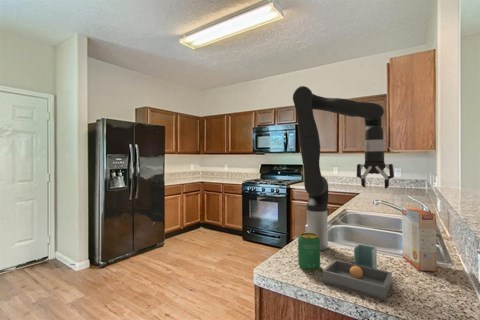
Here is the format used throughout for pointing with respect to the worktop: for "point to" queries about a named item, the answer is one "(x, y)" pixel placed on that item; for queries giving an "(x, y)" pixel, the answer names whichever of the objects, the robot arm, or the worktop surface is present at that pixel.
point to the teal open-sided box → (365, 256)
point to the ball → (356, 272)
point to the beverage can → (309, 251)
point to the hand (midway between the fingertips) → (374, 187)
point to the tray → (359, 280)
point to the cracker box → (419, 238)
